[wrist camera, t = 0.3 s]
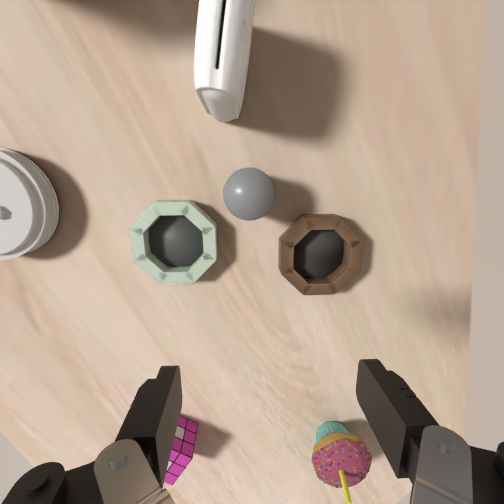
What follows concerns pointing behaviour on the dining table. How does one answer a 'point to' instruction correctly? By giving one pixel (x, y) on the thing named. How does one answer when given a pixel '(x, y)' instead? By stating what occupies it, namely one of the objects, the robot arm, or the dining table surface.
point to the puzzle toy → (181, 449)
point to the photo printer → (223, 55)
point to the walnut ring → (319, 254)
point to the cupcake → (340, 457)
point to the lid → (24, 205)
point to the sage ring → (174, 241)
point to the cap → (249, 194)
